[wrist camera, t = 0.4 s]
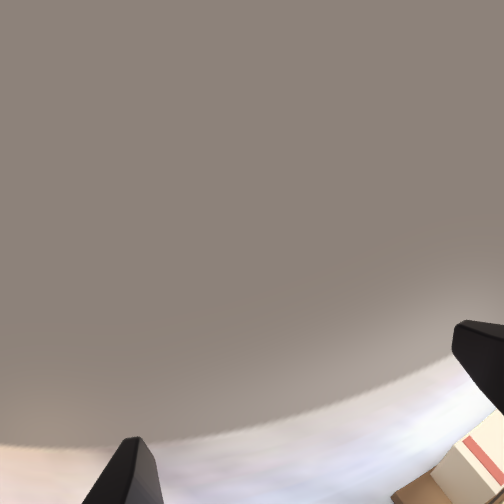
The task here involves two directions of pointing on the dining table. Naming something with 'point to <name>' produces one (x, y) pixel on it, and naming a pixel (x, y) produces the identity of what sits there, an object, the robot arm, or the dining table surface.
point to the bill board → (430, 493)
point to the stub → (474, 464)
